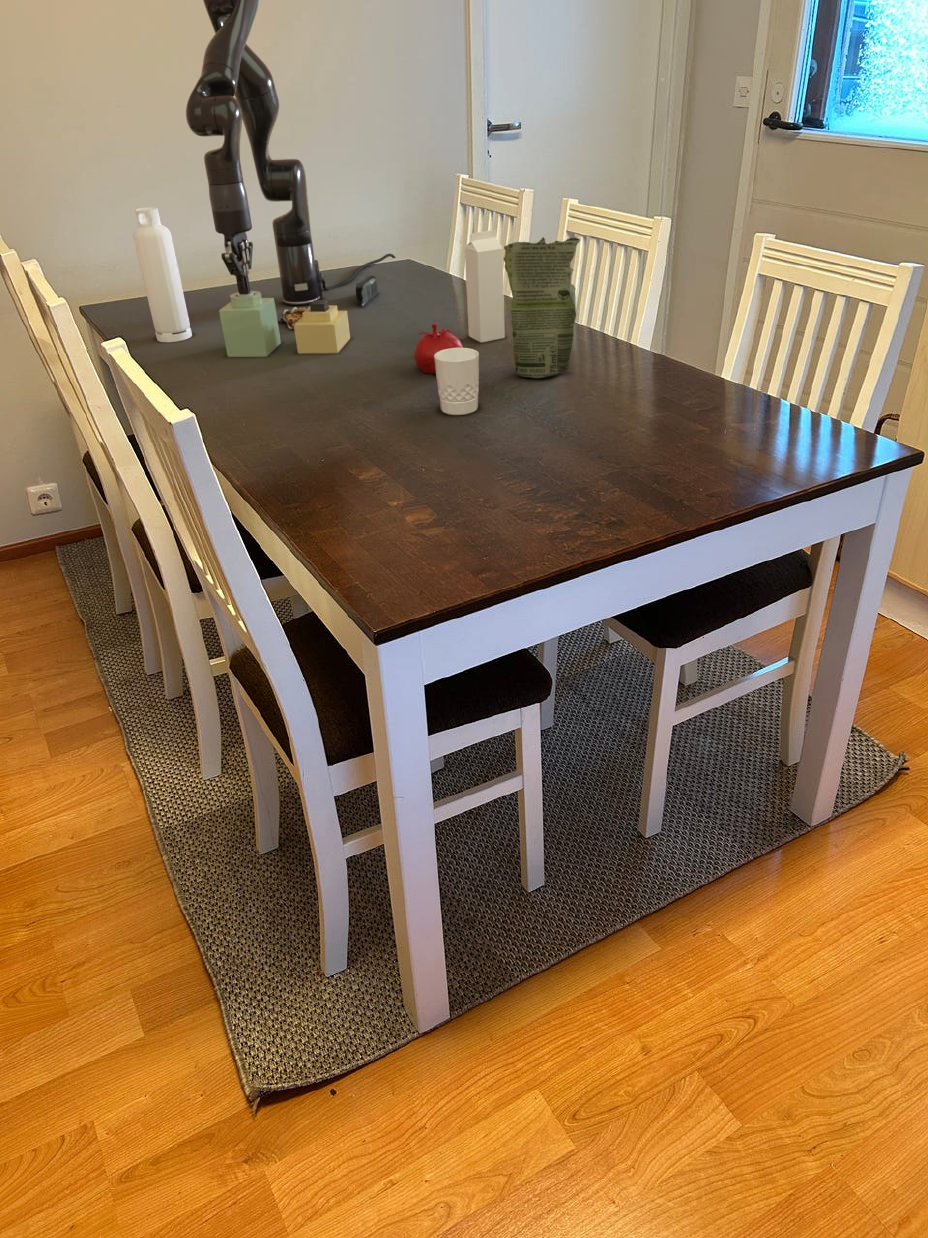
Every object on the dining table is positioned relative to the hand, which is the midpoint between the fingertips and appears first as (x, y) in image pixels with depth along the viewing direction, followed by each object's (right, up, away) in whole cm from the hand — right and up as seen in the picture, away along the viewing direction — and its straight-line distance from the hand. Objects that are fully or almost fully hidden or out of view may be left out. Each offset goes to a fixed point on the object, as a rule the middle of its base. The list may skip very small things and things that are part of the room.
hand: (244, 293), depth 200 cm
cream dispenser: (+16, -9, +7) cm, 20 cm away
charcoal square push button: (+16, -3, +3) cm, 16 cm away
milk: (+52, -8, +6) cm, 53 cm away
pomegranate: (+42, -20, -11) cm, 48 cm away
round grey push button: (0, -2, +1) cm, 2 cm away
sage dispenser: (+1, -10, +7) cm, 12 cm away
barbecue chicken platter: (+8, 0, +23) cm, 24 cm away
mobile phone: (+22, +12, +39) cm, 46 cm away
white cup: (+46, -32, -31) cm, 64 cm away
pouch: (+63, -21, -15) cm, 68 cm away
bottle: (-21, -4, +19) cm, 28 cm away
